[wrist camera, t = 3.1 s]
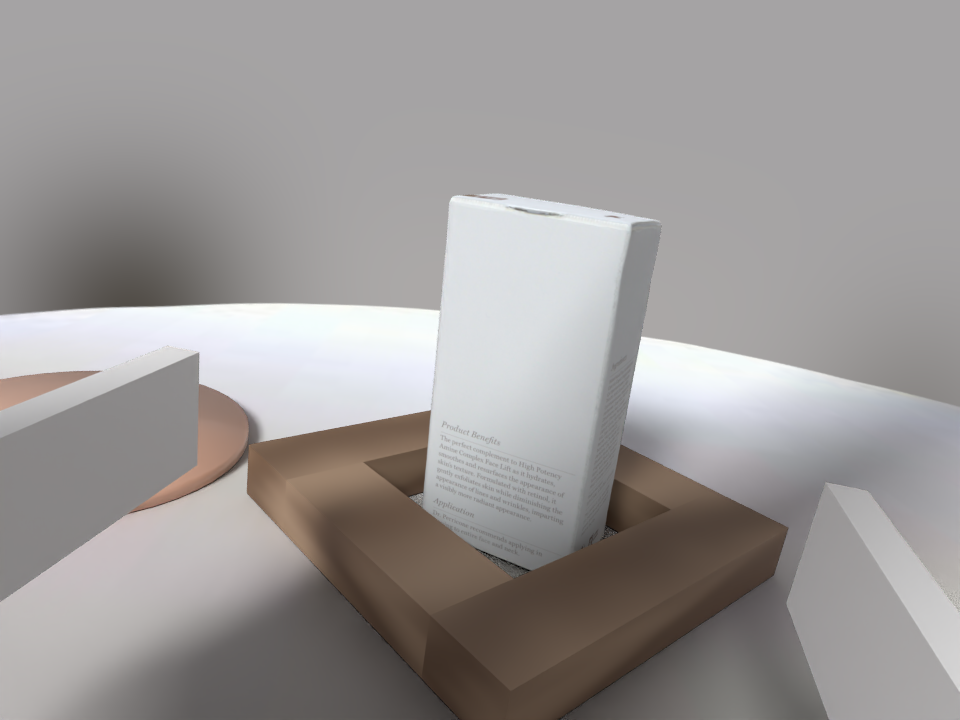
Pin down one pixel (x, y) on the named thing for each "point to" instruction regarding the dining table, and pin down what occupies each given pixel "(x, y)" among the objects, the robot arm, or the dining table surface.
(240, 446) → the coaster
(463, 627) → the socket block
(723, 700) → the dining table surface
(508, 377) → the skincare box
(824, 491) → the robot arm
